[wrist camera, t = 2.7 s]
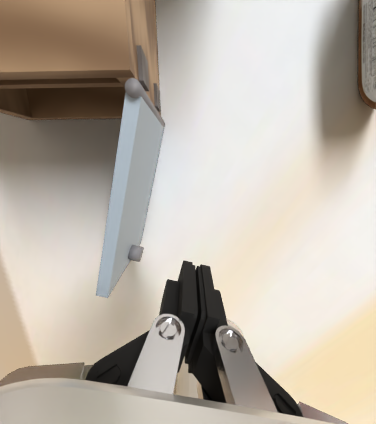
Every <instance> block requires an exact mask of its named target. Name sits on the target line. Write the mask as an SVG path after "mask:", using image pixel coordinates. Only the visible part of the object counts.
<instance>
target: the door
mask: <svg viewBox="0 0 376 424" xmlns="http://www.w3.org/2000/svg"><path fill="white" fill-rule="evenodd" d="M125 91H126V93H125V100H124V107H123V114H122V121H121V127H120V134H119V141H118V148H117V155H116V162H115V168H114V175H113V182H112V189H111V196H110V203H109V209H108V216H107V223H106V230H105V237H104V243H103V250H102V257H101V264H100V271H99V278H98V284H97V291H96V295H97V296H102V297H106V298H108V297H109V295H110V293H111V292H112V290H113V288H114V287H115V285H116V283H117V282H118V280H119V278H120V277H121V275H122V273H123V272H124V270H125V268H126V267H127V265H128V263H129V262H130V260H134V261H138V262H140V260H141V257H142V253H143V247H140V246H139V245H140V243H141V240H142V235H143V230H144V225H145V220H146V215H147V210H148V205H149V200H150V195H151V190H152V186H153V181H154V176H155V171H156V166H157V161H158V156H159V151H160V146H161V141H162V136H163V131H164V127H165V123H164V121H163V119H162V118H161V116H160V115H159V113H158V111H157V110H156V108H155V107H154V105H153V103H152V102H151V100H150V98H149V97H148V95H147V94H146V92H145V90H144V89H143V87H142V85H141V84H140V82H139V81H138V80H137V79H135V78H130V79H128V80H127V81H126V83H125Z"/></svg>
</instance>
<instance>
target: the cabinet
mask: <svg viewBox="0 0 376 424" xmlns="http://www.w3.org/2000/svg"><path fill="white" fill-rule="evenodd" d="M130 78H135V79H137V80H138V81H139V82H140V84H141V85H142V87H143V89H144V90H145V92H146V94H147V95H148V97H149V98H150V100H151V102H152V103H153V105H154V107H155V108H156V110H157V111H158V113H159V115H160V116H161V113H160V112H161V108H160V90H159V70H158V49H157V28H156V6H155V0H0V112H1V113H5V114H8V115H12V116H16V117H20V118H23V119H27V120H60V119H122V114H123V107H124V100H125V93H126V91H125V83H126V81H127V80H128V79H130Z"/></svg>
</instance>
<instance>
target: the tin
mask: <svg viewBox="0 0 376 424" xmlns="http://www.w3.org/2000/svg"><path fill="white" fill-rule="evenodd" d="M358 86H359V92H360V95H361V97H362V99H363V101H364V102H365V103H366V104H367V105H368V106H370V107H371V108H373V109H376V0H359V34H358Z"/></svg>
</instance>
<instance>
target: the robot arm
mask: <svg viewBox="0 0 376 424" xmlns="http://www.w3.org/2000/svg"><path fill="white" fill-rule="evenodd" d="M176 376H177V385H176V395H175V394H173V392H174V387H175V381H176ZM0 424H348V423H346V422H344V421H342V420H339V419H337V418H335V417H333V416H330V415H328V414H326V413H324V412H322V411H319V410H317V409H315V408H313V407H310V406H308V405H306V404H304V403H301V402H299V403H298V404H296V402H295V400H294V399H293V398H292V397H291V396H290V395H289V394H288V393H287V392H286V391H285V390H284V389H283V388H282V387H281V386H280V385H279V384H278V383H277V382H276V381H275V380H274V379H273V378H272V377H270V376H269V375H268V374H267V373H266V372H265V371H264V370H263V369H262V368H261V367H260V366H259V365H258V364H257V363H256V362H255V360H254V358H253V356H252V354H251V351H250V349H249V347H248V345H247V343H246V340H245V339H244V337H243V334H242V332H241V331H240V329H239V328H238V327H237V326H236V325H235V324H234V323H232V322H231V321H229V320H227V319H226V315H225V311H224V307H223V302H222V298H221V294H220V291H219V290H215V289H214V285H213V280H212V275H211V270H210V266H206V265H200V267H199V266H197V268H196V271H195V265H192V262H188V261H183V264H182V267H181V271H180V275H179V278H178V281H173V280H169V279H167V282H166V286H165V290H164V294H163V298H162V303H161V308H160V314H159V316H158V317H157V318H155V320H154V322H153V324H152V326H151V329H150V330H149V331H148V332H146V333H144V334H143V335H141V336H139V337H138V338H136V339H134V340H132V341H131V342H129V343H127V344H126V345H124V346H122V347H121V348H119V349H117V350H116V351H114V352H112V353H110V354H109V355H107V356H105V357H104V358H102V359H100V360H99V361H98V362H96V363H95V364H94V365H87V366H84V363H71V364H57V365H42V366H28V367H24V368H19V369H17V370H15V371H13V372H11V373H9V374H8V375H7V376H6V377H5V378H3V379H2V380H1V381H0Z"/></svg>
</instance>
